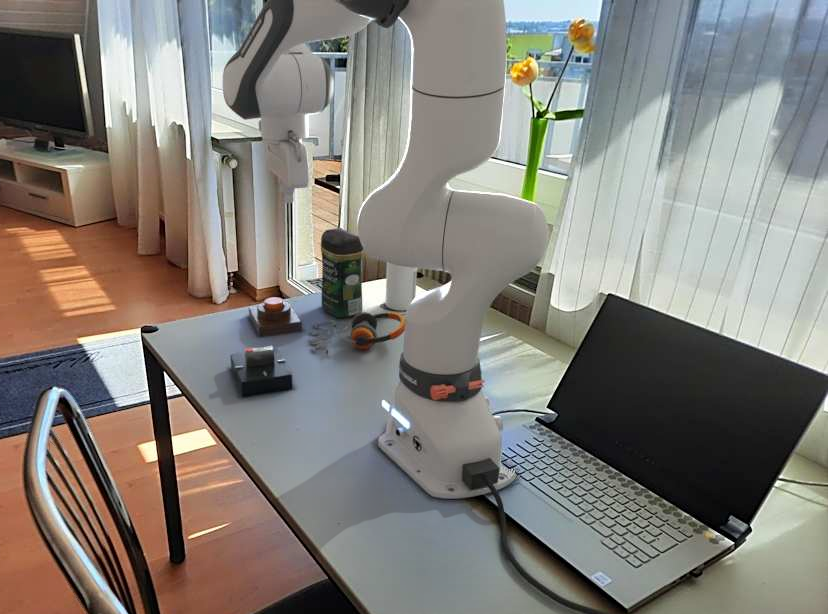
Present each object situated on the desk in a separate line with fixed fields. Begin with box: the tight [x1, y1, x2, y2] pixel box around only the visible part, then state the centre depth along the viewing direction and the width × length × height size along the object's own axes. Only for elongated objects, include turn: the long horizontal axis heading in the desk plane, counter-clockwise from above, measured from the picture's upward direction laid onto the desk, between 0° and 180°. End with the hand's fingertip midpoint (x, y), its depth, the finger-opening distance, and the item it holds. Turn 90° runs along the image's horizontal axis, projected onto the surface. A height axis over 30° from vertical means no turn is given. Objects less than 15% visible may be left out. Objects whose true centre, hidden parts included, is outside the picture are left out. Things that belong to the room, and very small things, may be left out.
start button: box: [263, 296, 284, 311], centre depth 139 cm, size 4×4×2 cm
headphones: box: [310, 311, 405, 357], centre depth 133 cm, size 17×5×20 cm
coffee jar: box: [320, 227, 364, 319], centre depth 144 cm, size 10×8×19 cm
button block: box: [248, 300, 302, 337], centre depth 140 cm, size 11×9×4 cm
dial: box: [244, 345, 275, 368], centre depth 117 cm, size 5×2×3 cm, turn 110°
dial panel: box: [230, 347, 293, 398], centre depth 119 cm, size 11×9×3 cm
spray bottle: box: [385, 262, 418, 311], centre depth 147 cm, size 7×7×18 cm
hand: (287, 201), depth 127 cm, fingers closed
